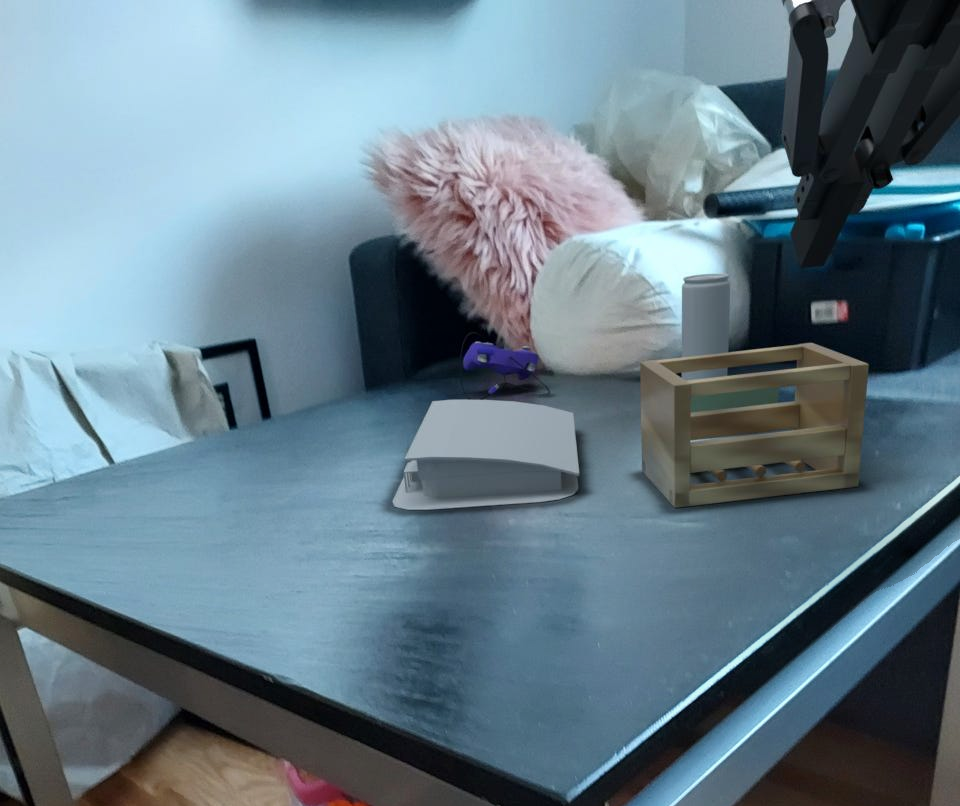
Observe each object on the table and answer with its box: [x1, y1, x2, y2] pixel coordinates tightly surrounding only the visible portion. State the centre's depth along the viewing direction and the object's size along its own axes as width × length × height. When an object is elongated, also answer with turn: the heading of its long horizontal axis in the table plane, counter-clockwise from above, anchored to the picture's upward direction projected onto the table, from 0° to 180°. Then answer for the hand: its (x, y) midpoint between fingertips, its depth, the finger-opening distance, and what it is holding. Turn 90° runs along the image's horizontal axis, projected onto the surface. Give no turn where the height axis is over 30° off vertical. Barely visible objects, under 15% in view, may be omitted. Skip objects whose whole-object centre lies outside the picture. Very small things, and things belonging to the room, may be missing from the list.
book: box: [392, 399, 580, 511], centre depth 84 cm, size 15×23×4 cm, turn 176°
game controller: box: [459, 331, 551, 400], centre depth 112 cm, size 10×8×10 cm
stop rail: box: [691, 387, 780, 413], centre depth 94 cm, size 11×1×2 cm, turn 95°
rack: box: [639, 342, 870, 509], centre depth 73 cm, size 14×10×9 cm
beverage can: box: [681, 273, 731, 381], centre depth 100 cm, size 5×5×12 cm
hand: (806, 249), depth 59 cm, fingers closed
